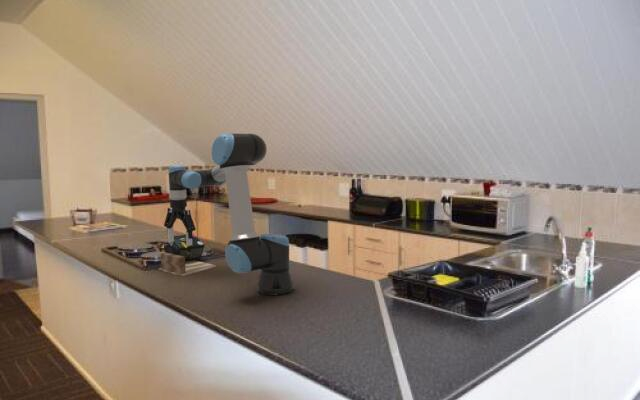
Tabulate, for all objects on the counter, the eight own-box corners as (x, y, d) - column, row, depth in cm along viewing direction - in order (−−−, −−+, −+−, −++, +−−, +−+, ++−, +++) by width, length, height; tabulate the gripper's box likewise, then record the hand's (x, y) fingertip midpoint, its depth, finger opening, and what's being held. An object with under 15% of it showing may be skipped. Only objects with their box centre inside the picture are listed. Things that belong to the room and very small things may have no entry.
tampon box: (168, 236, 243) (194, 233, 254) (164, 251, 246) (189, 248, 257) (180, 248, 237) (205, 244, 248) (175, 263, 240) (200, 259, 251)
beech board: (216, 266, 238) (216, 250, 237) (183, 276, 223) (182, 258, 221) (192, 261, 249) (191, 245, 248) (158, 269, 233) (158, 253, 232)
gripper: (202, 199, 224) (204, 245, 227) (168, 196, 238) (170, 238, 241) (189, 201, 218) (190, 248, 221) (155, 197, 232) (157, 241, 235)
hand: (180, 243), depth 231 cm, fingers open, 13 cm apart
